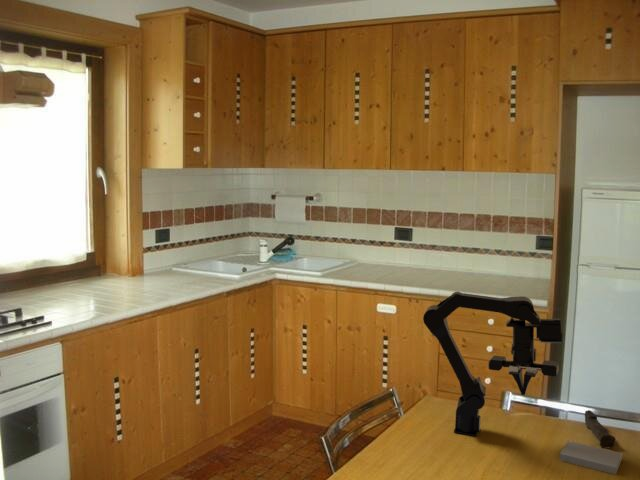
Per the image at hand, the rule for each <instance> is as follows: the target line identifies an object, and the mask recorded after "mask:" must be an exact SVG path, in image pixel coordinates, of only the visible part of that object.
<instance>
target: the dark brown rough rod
mask: <svg viewBox="0 0 640 480" xmlns="http://www.w3.org/2000/svg"><path fill="white" fill-rule="evenodd" d="M584 412H585V413H584V423H585V425H586V428H587V429H588V430H590V431H591V433H592V434H593V435H594V436H595V438H596V439H597V440H598V441H599V443H600V444H599V445H600V448H604V447H612V448H613V447H615V443H616V437H615V436H613V435H612V434H610V433H609V431H608V429H607V428H605V427H604V426H603V425H602V424H601V422H599V420H598V417H597V415H596V414H595V413H594V412H593V411H592V410H590V409H588V410H585V411H584Z"/></svg>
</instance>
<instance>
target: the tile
mask: <svg viewBox="0 0 640 480" xmlns="http://www.w3.org/2000/svg"><path fill="white" fill-rule="evenodd" d="M558 459H559V461H560V462H563V463H567V464H573V465H577V466H579V467H580V466H581V467H584V468H589V469H593V470H596V471H599V472H604V473H608V474H612V475H617V472H618V470H619V467H620V465H621V463H622V460H623V453H622V452H618V451H614V450H610V449H607V448H606V449H605V448H603V447H597V446H593V445H588V444H585V443H581V442H575V441H570V440H567V442H566V443H565V445H564V447H563V448H562V450H561V451H560V453H559V458H558Z"/></svg>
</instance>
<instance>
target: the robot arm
mask: <svg viewBox="0 0 640 480" xmlns="http://www.w3.org/2000/svg"><path fill="white" fill-rule="evenodd" d="M458 308H463V309H471V310H478V311H485V312H493V313H498V314H501V315H502V314H503V315H506V316H507V317H509V320H507V321H506V322H505V325H506V327H507V328H512V343H511V348H510V349H511V350H510V353H511V355H512V360H507V358H506V357H507V356H499V355H493V356H492V357H491V358H490V359H489V360H488V370H489V371H490V370H491V371H497V372H498V371H499V372H500V370H502V368H509V372H508V375H510V376H512V377H513V379H514V381H515V382H516V385H517V386H518V390H519V391H520V395H521V396H525V395H526V392H527V390H528V387H529V384H530V381H531V379H532V378H535V377H536V376H537V374H538V373H539V371H541V373H542V374H543V376H546V377H547V376H548V377H557V376H558V374H559V371H560V363H558V361H555V360H543V361H542V363H537V362H536V361H537V349H536V348H535V339H537V340H538V341H540V343H543V344H545V343H547V344H549V343H550V344H562V342H563V341H562V340H563V333H562V322H561V319H560V318H558V317H557V318H555V317H554V318H541V317H540V316H539V314H538V313H537V312H536V310H535V307H534V304H533V302H532V300H531V298H529V297H527V296H509V297H496V296H495V297H494V296H488V295H480V294H472V293H463V292H461V291H455V292H453V293H451V295H449V296H448V297H446V298H445V299H443V300H442V301H440V302H439V303H438V304H433V305H430V306H429V307H428V308H426V310H425V312H424V314H423V317H422V318H423V320H422V321H423V323H424V325H425V326H426V328H427V329H428V330H429V332H430V333H431V334H432V335H433V336H434V337H435V339H437V340H438V343H439V345H440V347H441V348H442V351H443V352H444V354H445V356H446V359H447V361H448V362H449V364H450V366H451V368H452V370H453V372H454V374H455V375H456V378H457V380H458V382H459V386H460V390H461V394H462V395H461V396H459V397H458V400H457V406H456V410H455V420H454V422H455V423H454V429H453V433H455V434H462V435H467V436H474V437H476V436H477V435H478V433H480V430H481V415H479V413H480V410H481V409H482V408H483V407H484V406H485V402H486V393H487V389H486V386H485V385H484V384H483V382H482V378H481V377H480V376H478V377H475V376H473V374H472V373H471V370H470V369H469V367H468V365H467V363H466V361H465V360H464V357H463V355H462V353H461V352H460V349H459V347H458V346H457V344H456V341H455V340H454V338H453V336H452V334H451V331H450V326H449V322H448V319H447V318H448V317H449V316H450V315H451V314H452V313H454V312H455V311H456V310H457V309H458ZM534 333H535V334H534ZM535 336H536V337H535ZM534 338H535V339H534ZM523 370H525V372H524V371H523ZM523 373H524V375H523Z"/></svg>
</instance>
